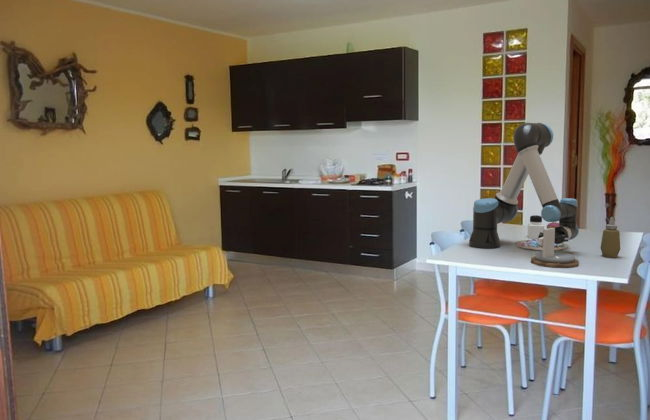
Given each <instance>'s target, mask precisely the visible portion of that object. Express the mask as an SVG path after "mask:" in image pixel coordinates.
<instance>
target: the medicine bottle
mask: <svg viewBox="0 0 650 420" xmlns="http://www.w3.org/2000/svg"><path fill="white" fill-rule="evenodd" d="M542 223H543V218H542V216H541V215H535V214H534V215H530V217H529V223H528V224H527V237H528V238H529V239H538V236H539V234H540V232H542V233H544V229H545V228H544V227H545V226H544V225H543V224H542Z"/></svg>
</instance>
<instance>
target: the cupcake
mask: <svg viewBox="0 0 650 420" xmlns="http://www.w3.org/2000/svg"><path fill="white" fill-rule="evenodd" d="M558 226H559V222H548V223H547V224H546V229H550V228H555V227H558Z"/></svg>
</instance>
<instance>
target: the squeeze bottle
mask: <svg viewBox="0 0 650 420" xmlns="http://www.w3.org/2000/svg"><path fill="white" fill-rule="evenodd" d="M620 233H621V232H620V230H618V224H616V223H615V218H614V216H610V218H609V221H608V224H605V228H604V230H602V235H601V243H600V247H599V249H600V251H601V255H602V257H605V258H617V257H619V253H620V251H621V237H620V235H621V234H620Z"/></svg>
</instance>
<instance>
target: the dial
mask: <svg viewBox="0 0 650 420" xmlns="http://www.w3.org/2000/svg"><path fill="white" fill-rule="evenodd" d="M554 242H555V228H550V229H547V228H544V235H543V245H542V252H540V251H539V252H535V254H534V256H535V259H537V260H540V261H544V262H552V263H570V262H574V261H575V259H576V256H575V255H573V254H570V253H566V252H559V251H558V252H557V251H555V243H554Z"/></svg>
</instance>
